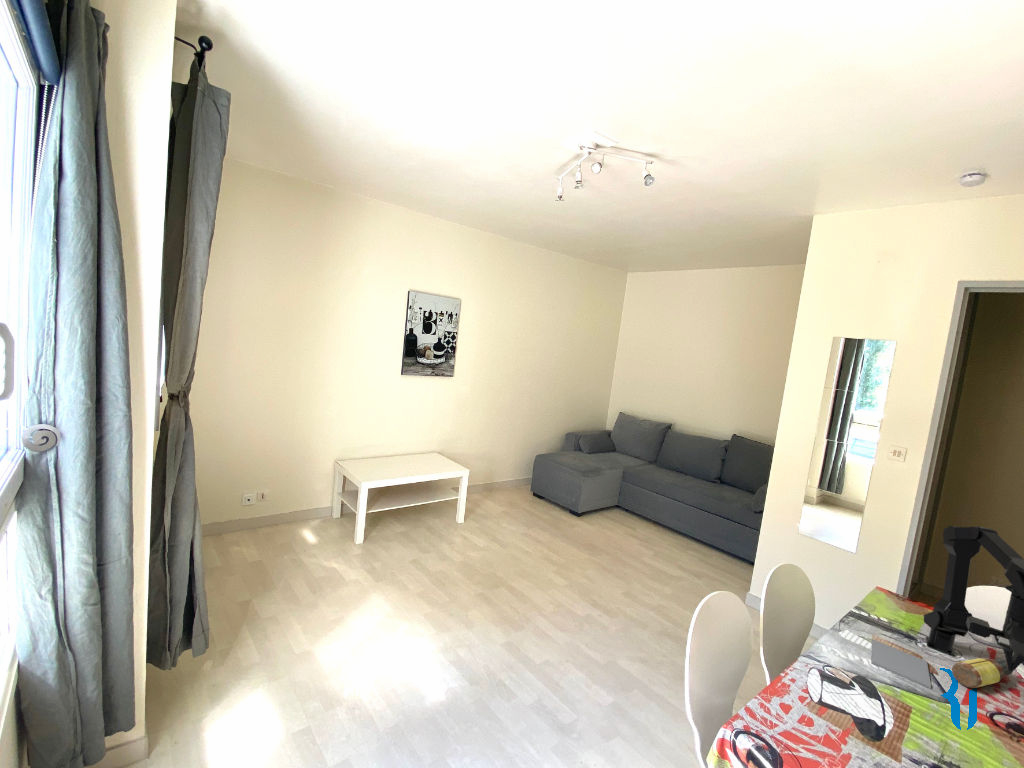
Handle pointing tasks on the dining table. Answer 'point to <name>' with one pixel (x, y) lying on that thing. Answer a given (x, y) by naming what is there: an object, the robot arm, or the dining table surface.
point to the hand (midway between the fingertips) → (1010, 670)
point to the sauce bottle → (980, 672)
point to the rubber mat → (900, 663)
